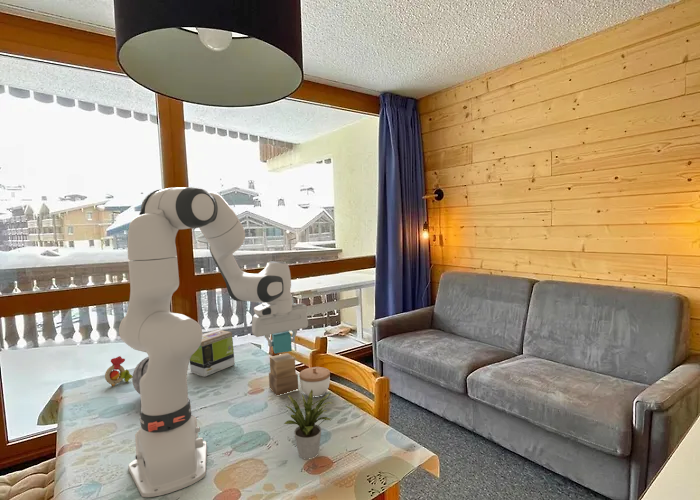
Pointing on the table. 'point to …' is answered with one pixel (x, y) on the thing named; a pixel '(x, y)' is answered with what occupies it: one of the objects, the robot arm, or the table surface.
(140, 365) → the decorative orb
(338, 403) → the table surface
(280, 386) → the tower bottom
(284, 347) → the teal block
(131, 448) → the table surface
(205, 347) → the tea box
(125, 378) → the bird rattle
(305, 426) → the house plant
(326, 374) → the lidded jar
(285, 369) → the block
